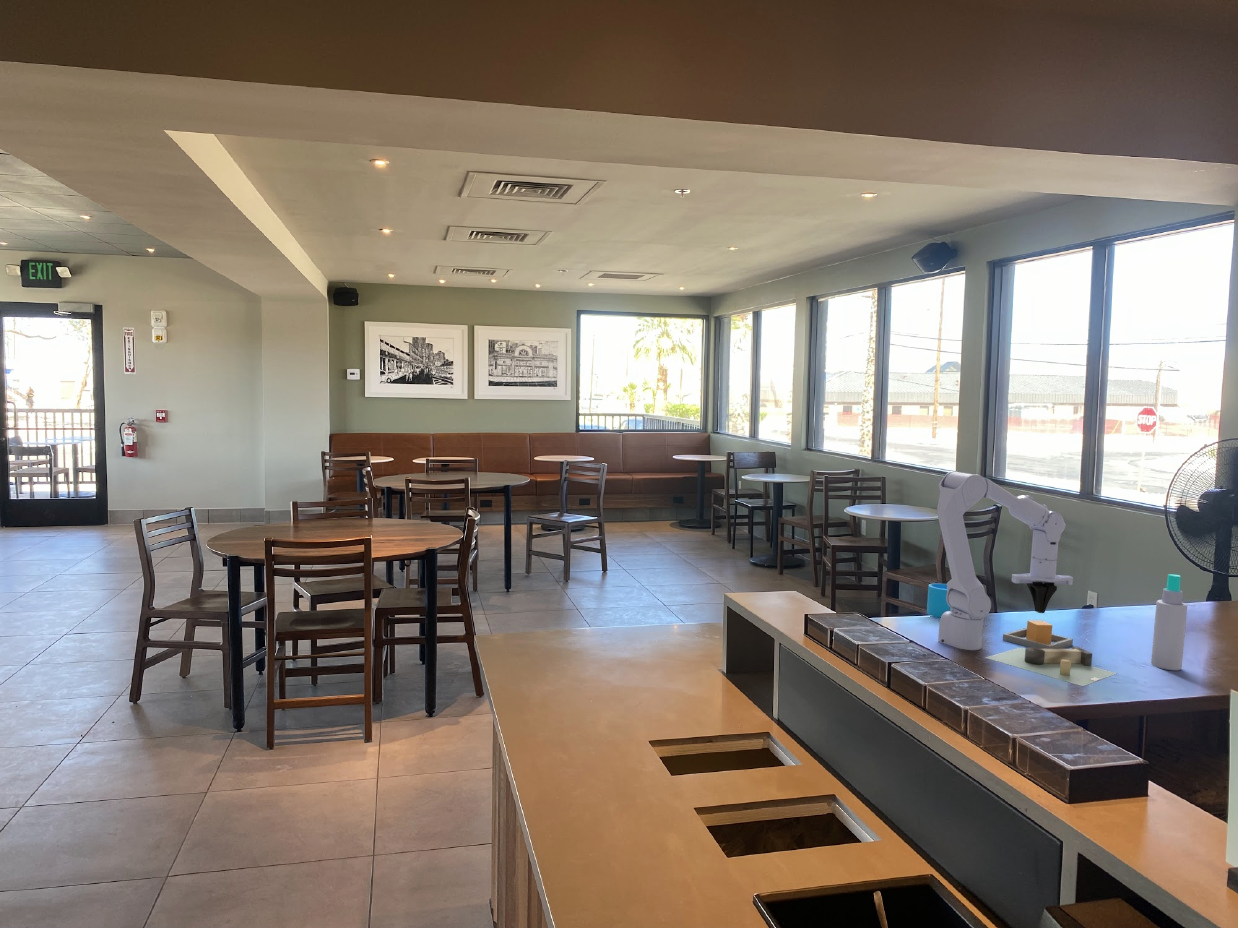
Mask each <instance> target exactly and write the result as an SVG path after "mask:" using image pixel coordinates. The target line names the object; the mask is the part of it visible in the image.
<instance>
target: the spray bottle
mask: <svg viewBox="0 0 1238 928" xmlns="http://www.w3.org/2000/svg"><path fill="white" fill-rule="evenodd" d="M1181 580H1182V579H1181V575H1180V574H1172V573H1170V574H1169V573H1168V574H1167V581H1166V587H1165V588H1163V589H1162V594H1161V599H1158V600H1156V603H1155V605H1156V606H1155V615H1154V625H1153V626H1154V627H1153V638H1152V647H1151V648H1152V650H1151V658H1150V661H1151V662H1150V663H1151V665H1152V666H1153V667H1155V668H1157V669H1161V670H1165V671H1166V670H1167V671H1175V672H1176V671H1180V670H1182V667H1183V659H1184V658H1183V657H1184V648H1185V647H1184V646H1185V634H1186V624H1187V614H1188V604H1186V603H1185V602H1183V596H1184V593H1183V590H1181Z"/></svg>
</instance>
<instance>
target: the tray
mask: <svg viewBox="0 0 1238 928" xmlns="http://www.w3.org/2000/svg"><path fill="white" fill-rule="evenodd" d="M1026 634H1027V627H1025V628H1021V629H1016V630H1012V631H1009V632H1005V633H1003V634H1002V641H1005V642H1009V643H1012V644H1017V645H1019V646H1024V647H1026V648H1028V647H1032V648H1039V649H1066V648H1068V647H1073V642H1074V638H1070V637H1066V636H1062V635H1058V634H1054V633H1052V637H1051V644H1049V645H1047V644H1043V643H1039V642H1035V641H1032V640H1028V639H1026ZM1052 642H1053V643H1052Z"/></svg>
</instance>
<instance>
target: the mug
mask: <svg viewBox="0 0 1238 928" xmlns="http://www.w3.org/2000/svg"><path fill="white" fill-rule="evenodd" d="M927 590H928V591H927V605H926V614H928V615H929V616H931V617H935V618H940V617H941V616H942V614H943V613H944V612H946V611H950V610H951V607H950V606H949V605H948V603H947V600H946V595H947V583H938V582H937V583H930V584H928V588H927Z"/></svg>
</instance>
